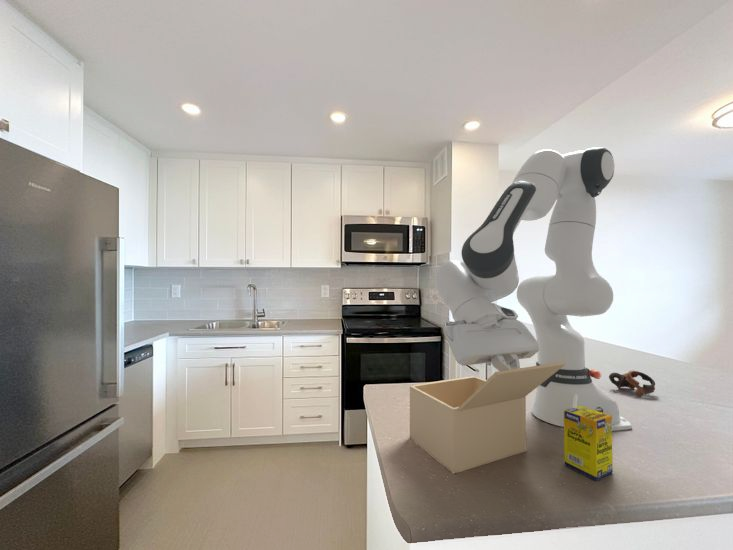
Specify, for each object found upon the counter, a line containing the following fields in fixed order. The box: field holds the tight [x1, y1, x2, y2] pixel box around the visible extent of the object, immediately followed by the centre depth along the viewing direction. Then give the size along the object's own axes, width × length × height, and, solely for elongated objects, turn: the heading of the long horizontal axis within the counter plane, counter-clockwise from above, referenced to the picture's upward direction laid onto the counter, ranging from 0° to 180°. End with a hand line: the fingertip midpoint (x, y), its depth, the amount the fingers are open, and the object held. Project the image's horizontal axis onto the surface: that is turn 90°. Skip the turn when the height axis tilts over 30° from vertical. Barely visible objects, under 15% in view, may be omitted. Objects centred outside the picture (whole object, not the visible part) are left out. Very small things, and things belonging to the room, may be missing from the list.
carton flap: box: [458, 362, 566, 411], centre depth 58 cm, size 18×13×1 cm
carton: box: [409, 375, 527, 475], centre depth 69 cm, size 20×16×12 cm
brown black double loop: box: [608, 370, 656, 398], centre depth 105 cm, size 12×9×8 cm
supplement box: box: [563, 406, 614, 481], centre depth 60 cm, size 6×6×11 cm
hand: (517, 379), depth 57 cm, fingers closed, pressing on carton flap
